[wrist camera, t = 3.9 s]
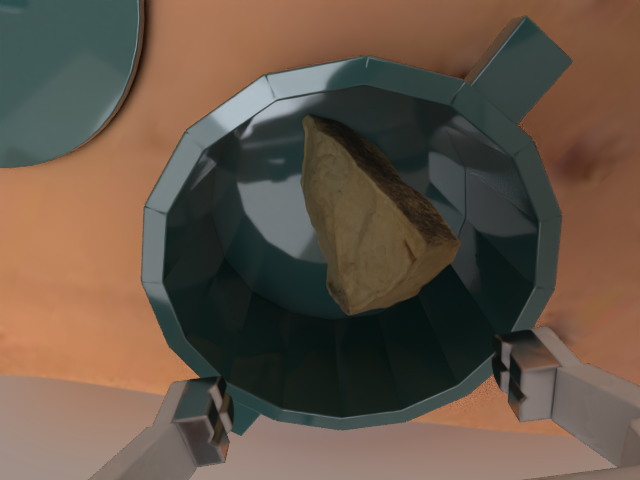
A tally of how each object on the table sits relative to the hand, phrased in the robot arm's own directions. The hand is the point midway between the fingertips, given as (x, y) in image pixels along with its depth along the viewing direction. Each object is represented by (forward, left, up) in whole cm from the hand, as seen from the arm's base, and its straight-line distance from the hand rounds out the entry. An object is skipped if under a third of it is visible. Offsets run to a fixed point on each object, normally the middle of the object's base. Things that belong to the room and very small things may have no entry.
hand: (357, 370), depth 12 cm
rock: (0, 0, -13) cm, 13 cm away
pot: (0, 0, -13) cm, 13 cm away
